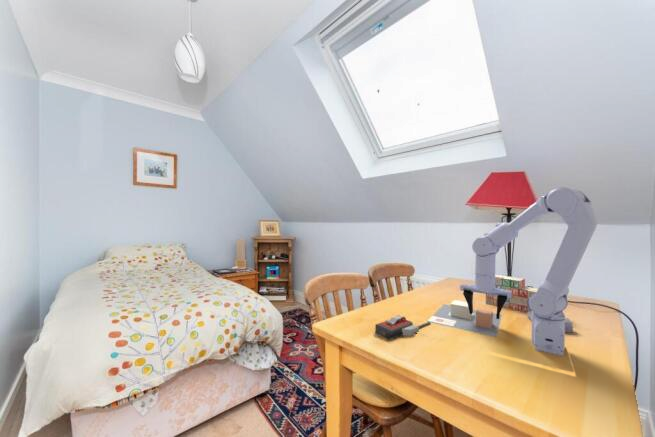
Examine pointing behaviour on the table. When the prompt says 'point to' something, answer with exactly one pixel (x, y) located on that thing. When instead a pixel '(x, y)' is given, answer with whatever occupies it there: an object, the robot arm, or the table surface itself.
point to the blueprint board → (463, 321)
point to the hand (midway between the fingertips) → (484, 315)
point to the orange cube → (484, 318)
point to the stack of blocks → (512, 293)
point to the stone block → (567, 323)
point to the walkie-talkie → (397, 327)
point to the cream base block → (460, 309)
